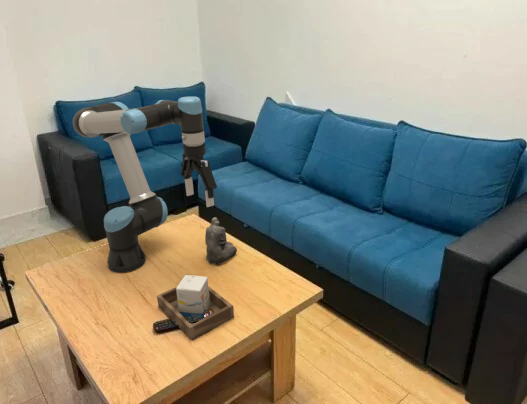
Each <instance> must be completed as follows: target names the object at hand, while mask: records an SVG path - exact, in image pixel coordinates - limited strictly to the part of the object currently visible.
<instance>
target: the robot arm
mask: <svg viewBox="0 0 527 404" xmlns="http://www.w3.org/2000/svg"><path fill="white" fill-rule="evenodd" d="M203 117H204V116H203V107H202V101H201V99H200V97H197V96H183V97H179V98H178V100H177V101H174V100H169V99H160V100H158V101H157V102H156V103H154V104H151V105H146V106H142V107H136V108H135V107H134V108H129V107H128V106H127V105H126V104H125V103H123V102H120V101H111V102H109V101H108V102H106V103H102V104H97V105H93V106H92V105H91V106H87V107H83V108H81V109H79V110H78V111H77V112H76V113H75V114H74V116H73V118H72V126H73V130H74V131H75V132H76V134H78V135H79V136H81V137H84V138H96V137H102V139H103V141H105V142H106V143H108V145H109V147H110V149H111V153H112V155H113V157H114V160H115V161H116V164H117V167H118V170H119V172H120V175H121V177H122V179H123V182H124V185H125V187H126V190H127V193H128V196H129V197H130V198H129V201H128V206H127V205H122V206H117V207H115V208H112V209H111V210H109V211H107V213H105V215H104V218H103V227H104V230H105V235H106V238H107V239H106V240H107V244H108V249H109V250H108V251H109V252H108V257H107V265H108V266H107V267H108V269H109V270H110V271H111V272H114V273H119V274H121V273H130V272H133V271H137V270H138V269H140V268H142V267H143V266H144V265H145V264H146V263H147V256H146V253H145V251H144V249H143V248H142V246H141V245H140V242H139V236H140V235H142V234H144V233H147V232H149V231H151V230H153V229H155V228H159V227H160V225H162V224H164V223H165V222H166V221H167V219H168V216H169V215H168V213H169V212H168V211H169V210H168V207H167V204H166V202H165V201H164V199H163V198H162V197H159V196H157V194H156V193H155V192H153V191H152V190H151V189H150V186H149V183H148V181H147V178H146V176H145V173H144V171H143V168H142V166H141V162H140V160H139V157H138V154H137V152H136V149H135V147H134V144H133V142H132V139H131V135H133V134H139V133H143V132H145V131H148V130H152V129H156V128H161V127H164V126H167V125H171V124H172V125H173V124H175V125H179V126H180V131H181V139H182V144H183V146H182V149H183V153H182V162H181V168H180V176H181V177H183V179H184V184H185V193H186V194H185V196H187V197H189V196H192V195H195V194H194V193H195V192H194V184H193V176H192V174H193V173H194V170H195V171H196V173H197V174H199V177H200V179H201V181H202V182H203V185H204V188H205V189H204V193H205V194H204V196H205V203H206V205H205V206H206V208H209V207H213V206H214V205H215V201H214V199H215V198H214V189H217V188H218V186H217V183H216V181H215V178H214V174H213V171H212V168H211V164H210V161H209V159H207V160H205V159H204V155H206V153H207V150H206V143H205V142H206V138H205V129H204V119H203Z"/></svg>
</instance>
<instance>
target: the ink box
mask: <svg viewBox="0 0 527 404" xmlns="http://www.w3.org/2000/svg"><path fill="white" fill-rule="evenodd" d="M208 280H209V279H208V277H207V276H201V275H192V274H191V275H189V274H185V275H184V276H183V278H182V279H181V280H180V281H179V284H178V285H177V286H176V287H177V288H176V292H177V300H178V307H179V313H180V314H181V315H182V316H184V317H197V318H203V317H204V315H205V312H206V311H207V310H208V308H209V306H210V297H209V288H208V286H209V281H208Z"/></svg>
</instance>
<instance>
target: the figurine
mask: <svg viewBox="0 0 527 404" xmlns="http://www.w3.org/2000/svg"><path fill="white" fill-rule="evenodd" d="M204 235H205V237H204V238H205V239H204V240H205V241H204V242H205V245H206V248H205V249H206V257H205V260H206V262H207V263H208V264H209V263H210V264H212V265H221V264H223V263H225V262H226V261H228V260H229V259H231V258H232V257H234V256H236V255H237V252H238V249H237V247H236V246H235V245H234V244H233V242H231V241H228V240H227V233H226V228H225V227H223V226H220V221H219V219H218V218H217V217H216V216H215V217H213V218H211V222H210V225H209V226H207V227H206V228H205V234H204Z"/></svg>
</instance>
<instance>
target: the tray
mask: <svg viewBox="0 0 527 404" xmlns="http://www.w3.org/2000/svg"><path fill="white" fill-rule="evenodd" d="M176 288H177V286H175V287H173V288H170V289H169V290H166V291H164V292H162V293H160V294H158V295H156V298H157V306H158V309H160V310H161V311H162V313H164V315H166V317H167V318H168V319H169V320H171V319H173V320H175V321H176V322H177V324H178V325H179V327H178V329H180V331H182V332H183V334H184V335H185V336H187V338H188V339H189V340H190V341H192V342H193V341H194V340H196V339H198V338H200V337H202V336H203V335H206V334H208V333H209V332H211V331H213V330H215V329H216V328H218V327H220V326H221V325H224V324H225V323H228V322H229V321H231V320H233V319H235V313H234V312H235V311H234V305H233V304H232V303H231V302H229V301H228V300H226V298H224V297H223V296H222V295H220V293H218V292H216V291H215V290H214V289H213V288H211V286H209V285H208V288H209V297H210V306H209V308H208V309H213V310H214V312H215V313H213V314H211V315H209V316H207V317H205V318H203V319H201V320H199V321H198V322H196V323H189V322H188V321H187V320H186V319H185V318H184V317H183V316H182V315H181V314H180V313H179V307H178V300H177V292H176Z"/></svg>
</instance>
